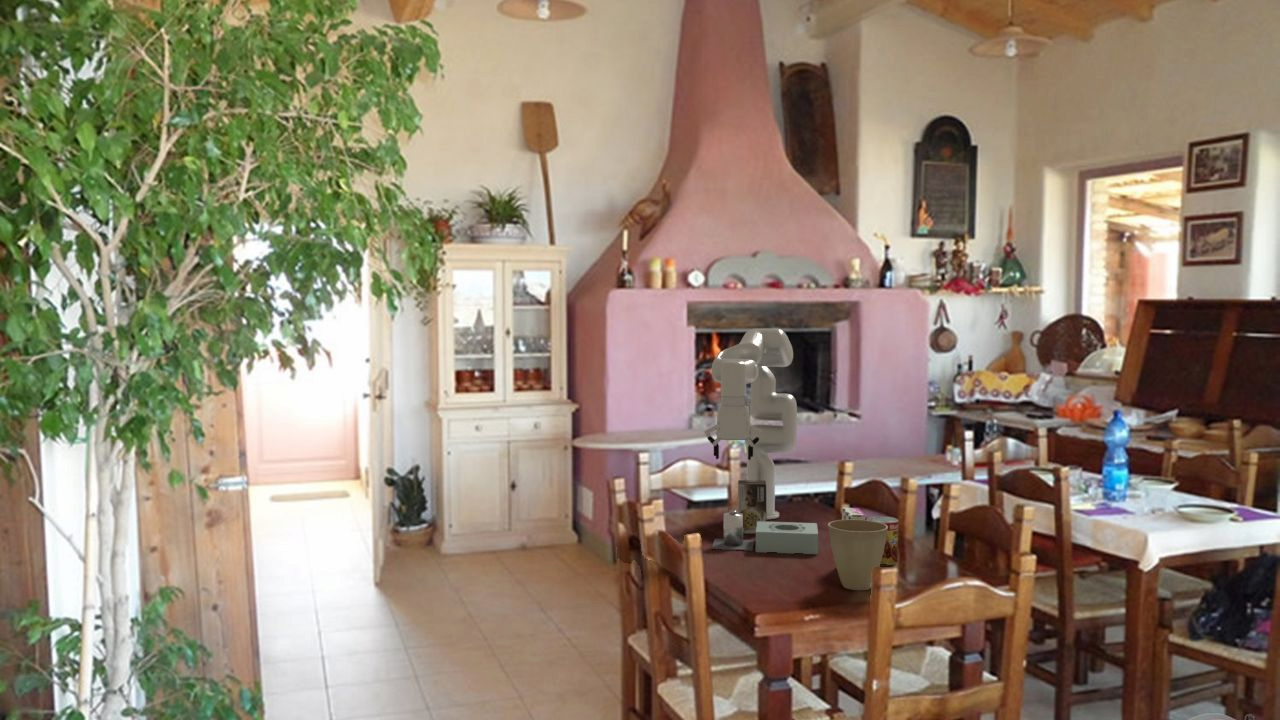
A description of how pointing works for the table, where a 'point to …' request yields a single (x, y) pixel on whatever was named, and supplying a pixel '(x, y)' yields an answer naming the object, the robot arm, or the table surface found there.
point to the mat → (746, 546)
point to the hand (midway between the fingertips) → (733, 458)
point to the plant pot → (857, 550)
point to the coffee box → (752, 503)
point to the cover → (733, 528)
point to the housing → (787, 537)
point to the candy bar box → (853, 514)
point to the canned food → (889, 539)
